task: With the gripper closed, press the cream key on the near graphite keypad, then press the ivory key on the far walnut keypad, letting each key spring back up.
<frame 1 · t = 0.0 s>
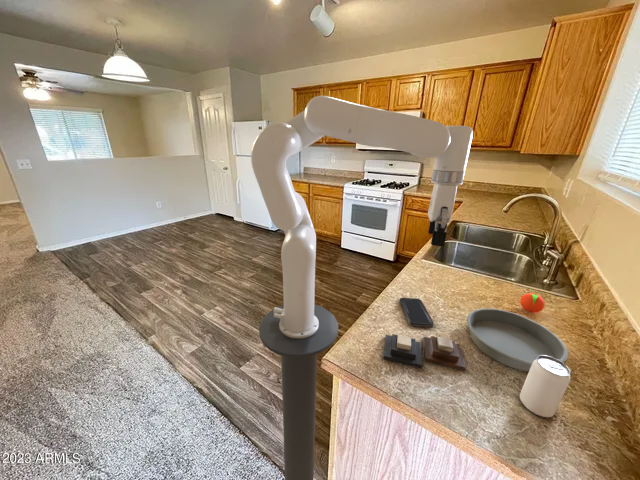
hand: (435, 239, 74), 31 cm above the counter, tool pointing down, fingers open, 9 cm apart
cake pan: (509, 344, 80), on the counter
phone: (414, 313, 93), on the counter
can: (535, 405, 61), on the counter
key a: (403, 342, 74), point 3 cm above the counter, slide at 0.1 cm
tomato: (529, 311, 96), on the counter
keypad a: (402, 352, 75), on the counter
key b: (444, 344, 74), point 3 cm above the counter, slide at 0.1 cm
keypad b: (442, 354, 75), on the counter
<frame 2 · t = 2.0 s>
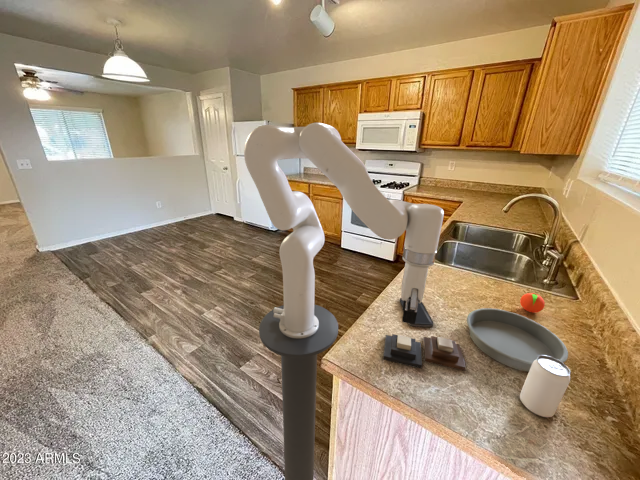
hand: (408, 316, 71), 12 cm above the counter, tool pointing down, fingers open, 4 cm apart
nothing on the counter moved.
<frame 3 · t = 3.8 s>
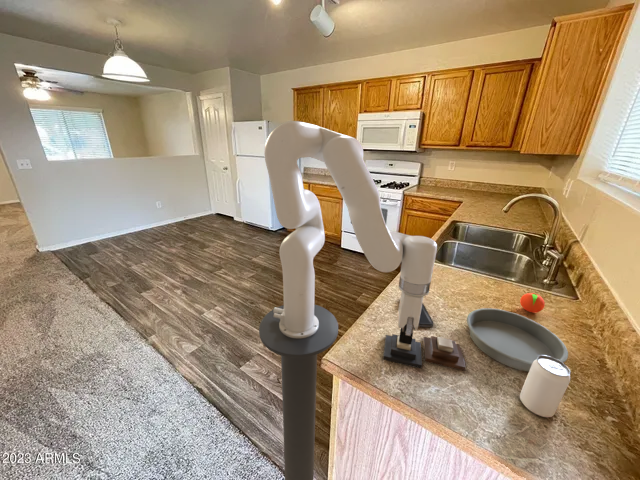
hand: (405, 341, 74), 4 cm above the counter, tool pointing down, fingers closed
key a: (403, 343, 74), point 3 cm above the counter, slide at -0.3 cm, touching gripper
everything else where it was.
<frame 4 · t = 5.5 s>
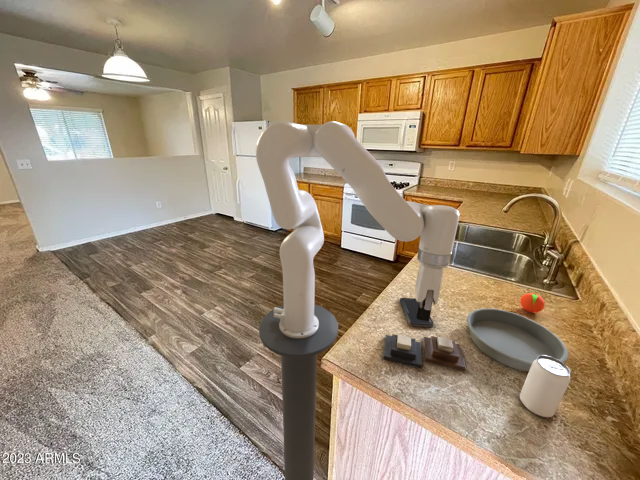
hand: (422, 318, 71), 12 cm above the counter, tool pointing down, fingers closed
key a: (403, 342, 74), point 3 cm above the counter, slide at 0.1 cm
everything else where it was.
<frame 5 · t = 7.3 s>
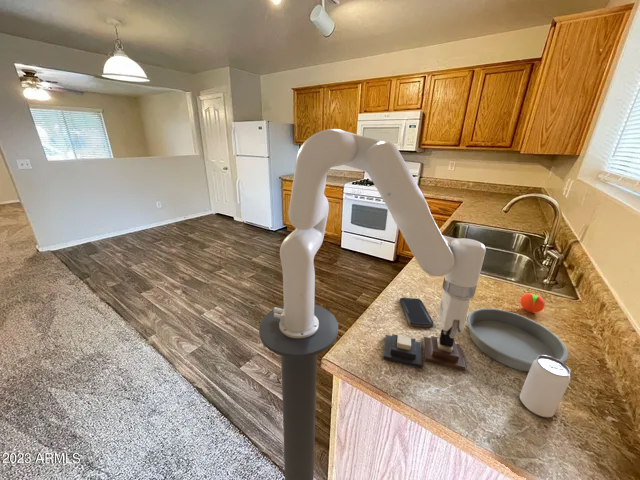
hand: (445, 343, 74), 4 cm above the counter, tool pointing down, fingers closed
key b: (444, 346, 74), point 3 cm above the counter, slide at -0.5 cm, touching gripper
everything else where it was.
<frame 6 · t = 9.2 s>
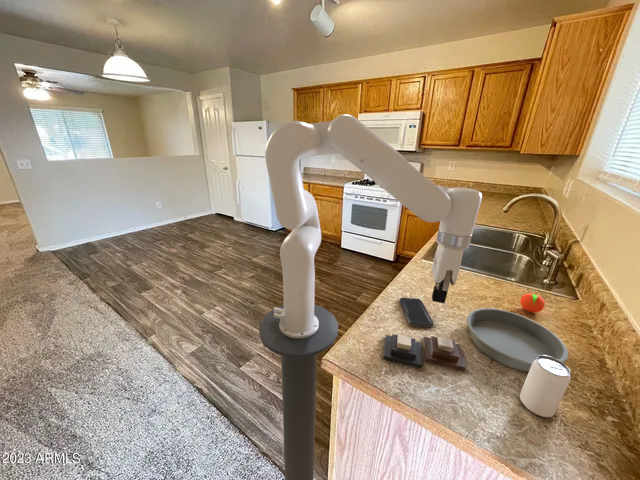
hand: (437, 300, 72), 16 cm above the counter, tool pointing down, fingers closed
key b: (444, 344, 74), point 4 cm above the counter, slide at 0.1 cm
everything else where it was.
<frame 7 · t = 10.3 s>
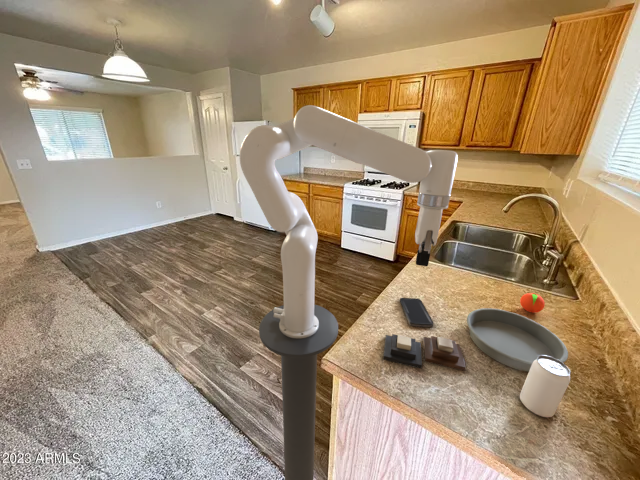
hand: (421, 264, 75), 24 cm above the counter, tool pointing down, fingers closed
nothing on the counter moved.
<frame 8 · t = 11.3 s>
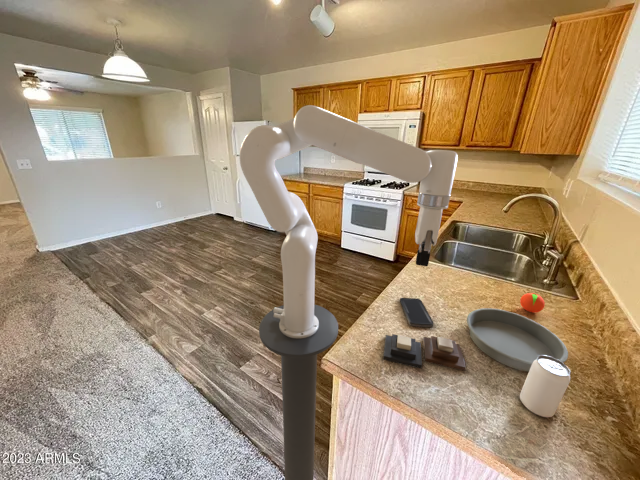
hand: (421, 264, 75), 24 cm above the counter, tool pointing down, fingers closed
nothing on the counter moved.
at the end: key a pushed in 1.1 cm at the most during the clip, back to where it started at the end; key b pushed in 1.1 cm at the most during the clip, back to where it started at the end; key b slide at 0.1 cm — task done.
